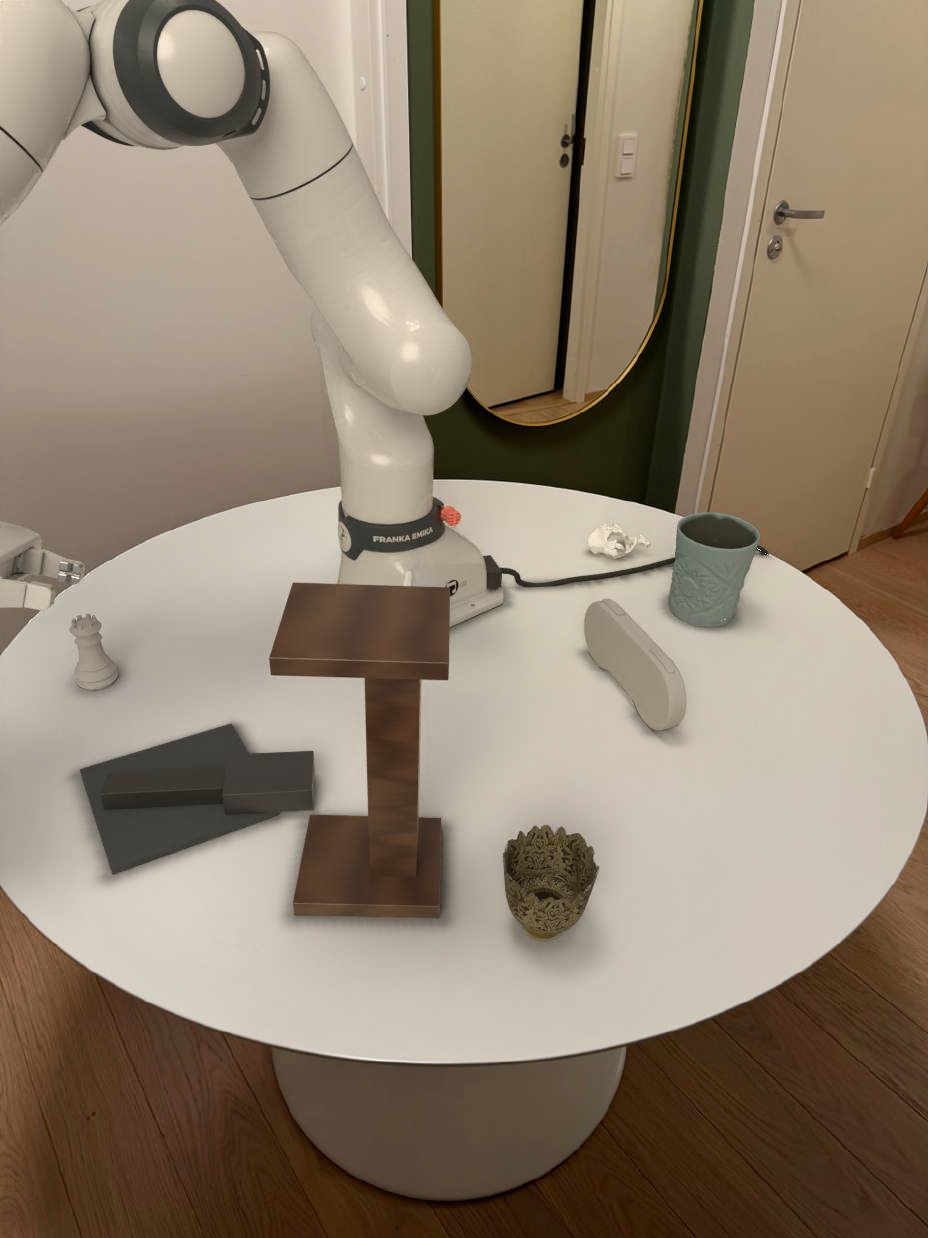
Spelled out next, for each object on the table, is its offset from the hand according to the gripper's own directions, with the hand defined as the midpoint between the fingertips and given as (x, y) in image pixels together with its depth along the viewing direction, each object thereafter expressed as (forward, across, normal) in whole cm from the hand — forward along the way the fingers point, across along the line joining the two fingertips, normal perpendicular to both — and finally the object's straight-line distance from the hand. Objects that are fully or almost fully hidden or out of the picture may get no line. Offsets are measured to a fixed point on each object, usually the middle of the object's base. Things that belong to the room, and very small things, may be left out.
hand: (68, 585), depth 71 cm
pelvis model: (+64, +46, -9) cm, 79 cm away
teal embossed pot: (+71, +30, -5) cm, 77 cm away
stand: (+29, -5, +18) cm, 35 cm away
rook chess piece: (0, +25, +17) cm, 30 cm away
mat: (+11, +6, +20) cm, 23 cm away
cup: (+43, -13, +17) cm, 48 cm away
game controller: (+57, +16, +4) cm, 59 cm away
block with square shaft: (+15, +4, +18) cm, 24 cm away
